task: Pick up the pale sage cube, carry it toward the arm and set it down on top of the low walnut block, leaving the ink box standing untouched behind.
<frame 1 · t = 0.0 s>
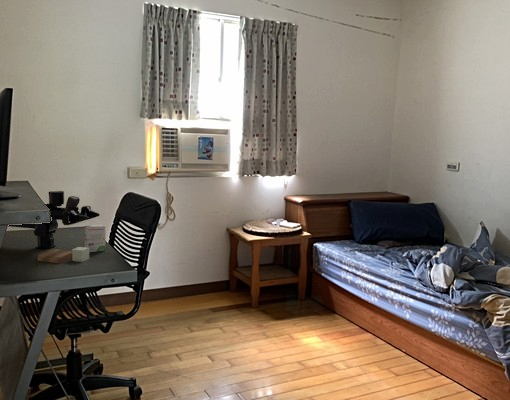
hand: (93, 216, 220), 17 cm above the table, tool horizontal, fingers open, 9 cm apart
sage cube: (80, 260, 209), on the table
ink box: (95, 251, 225), on the table
walnut block: (57, 259, 210), on the table
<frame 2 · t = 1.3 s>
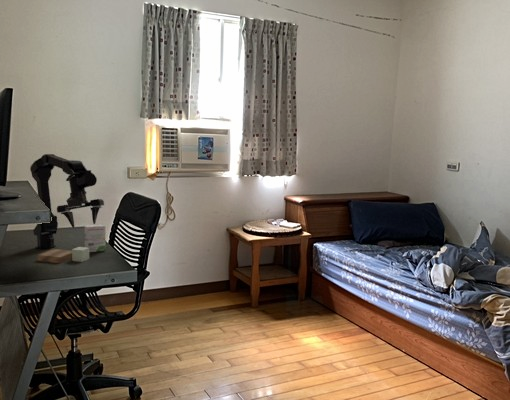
hand: (83, 225, 209), 14 cm above the table, tool pointing down, fingers open, 9 cm apart
nothing on the table moved.
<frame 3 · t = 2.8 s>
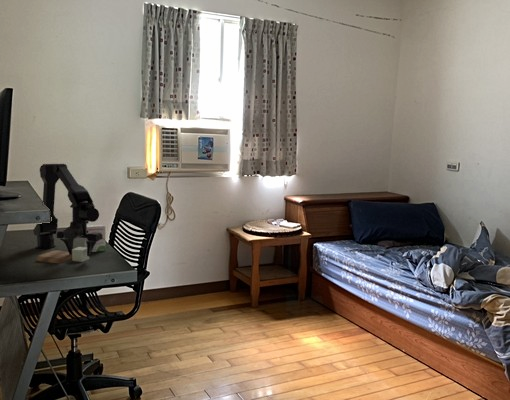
hand: (79, 255, 208), 2 cm above the table, tool pointing down, fingers open, 8 cm apart
walnut block: (57, 260, 209), on the table, touching gripper
everything else where it was.
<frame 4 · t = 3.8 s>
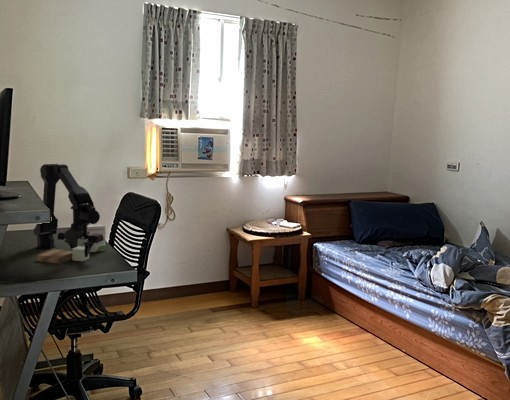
hand: (80, 256, 209), 1 cm above the table, tool pointing down, fingers closed on sage cube, 5 cm apart
sage cube: (80, 259, 209), on the table, touching gripper
walnut block: (57, 260, 209), on the table
everything else where it was.
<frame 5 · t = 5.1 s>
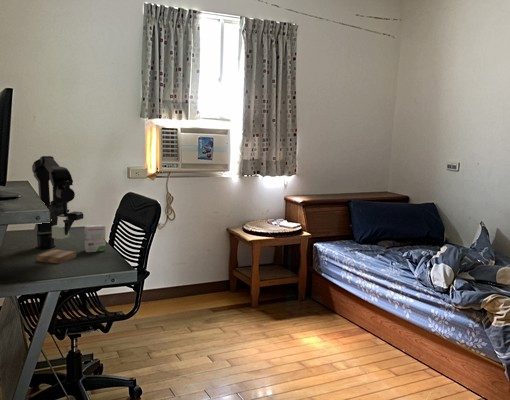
hand: (60, 234, 208), 11 cm above the table, tool pointing down, fingers closed on sage cube, 5 cm apart
sage cube: (60, 237, 209), point 9 cm above the table, touching gripper
everything else where it was.
when the fingers open (5 cm above the table, at t = 6.7 s): sage cube drops 1 cm, point 2 cm above the table.
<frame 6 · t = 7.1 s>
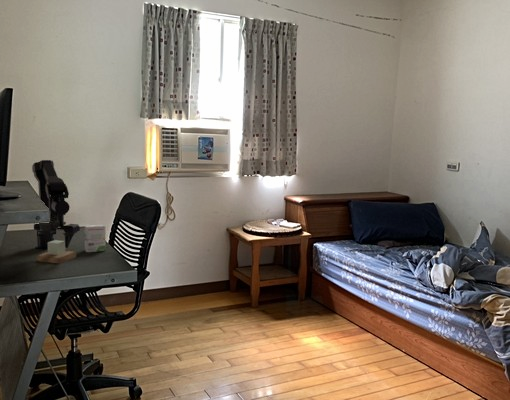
hand: (57, 246, 209), 5 cm above the table, tool pointing down, fingers open, 9 cm apart
sage cube: (56, 253, 209), point 2 cm above the table
everything else where it was.
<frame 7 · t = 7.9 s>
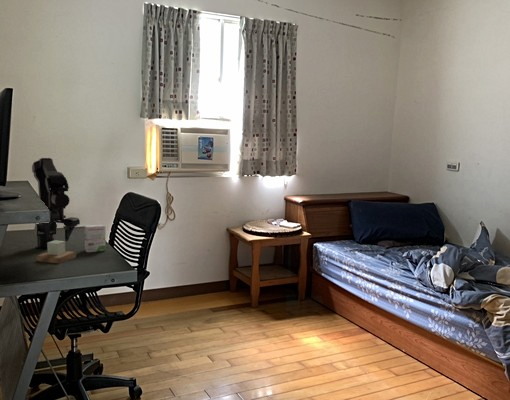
hand: (57, 240, 208), 8 cm above the table, tool pointing down, fingers open, 9 cm apart
nothing on the table moved.
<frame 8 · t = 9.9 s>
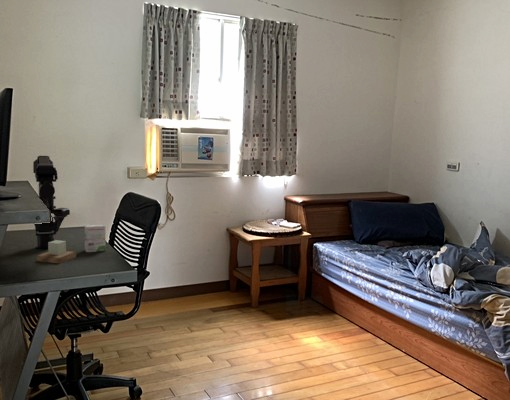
hand: (47, 230, 208), 12 cm above the table, tool pointing down, fingers open, 9 cm apart
sage cube: (57, 253, 209), point 2 cm above the table, touching walnut block
walnut block: (57, 260, 209), on the table, touching sage cube
everything else where it was.
at the end: sage cube inside the target area on the walnut block (0.3 cm from its centre), point 3.0 cm above the walnut block's base; sage cube tilted 1°; the gripper is holding nothing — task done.
